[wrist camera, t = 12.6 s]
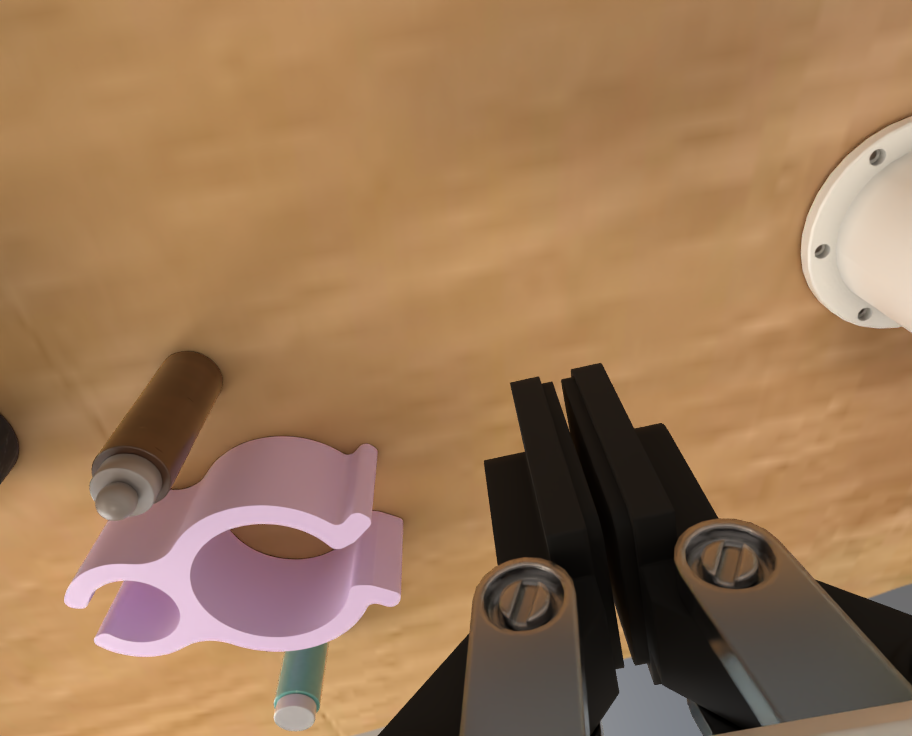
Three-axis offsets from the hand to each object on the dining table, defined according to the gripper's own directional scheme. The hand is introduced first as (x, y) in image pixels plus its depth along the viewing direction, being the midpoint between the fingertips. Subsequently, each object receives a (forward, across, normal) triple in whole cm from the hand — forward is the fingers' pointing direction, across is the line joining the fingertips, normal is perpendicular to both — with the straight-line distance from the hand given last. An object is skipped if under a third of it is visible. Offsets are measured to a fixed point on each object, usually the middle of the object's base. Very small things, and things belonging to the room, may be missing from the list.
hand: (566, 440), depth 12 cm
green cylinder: (+27, +20, +32) cm, 47 cm away
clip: (+27, +20, +21) cm, 40 cm away
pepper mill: (+27, +20, +10) cm, 35 cm away
